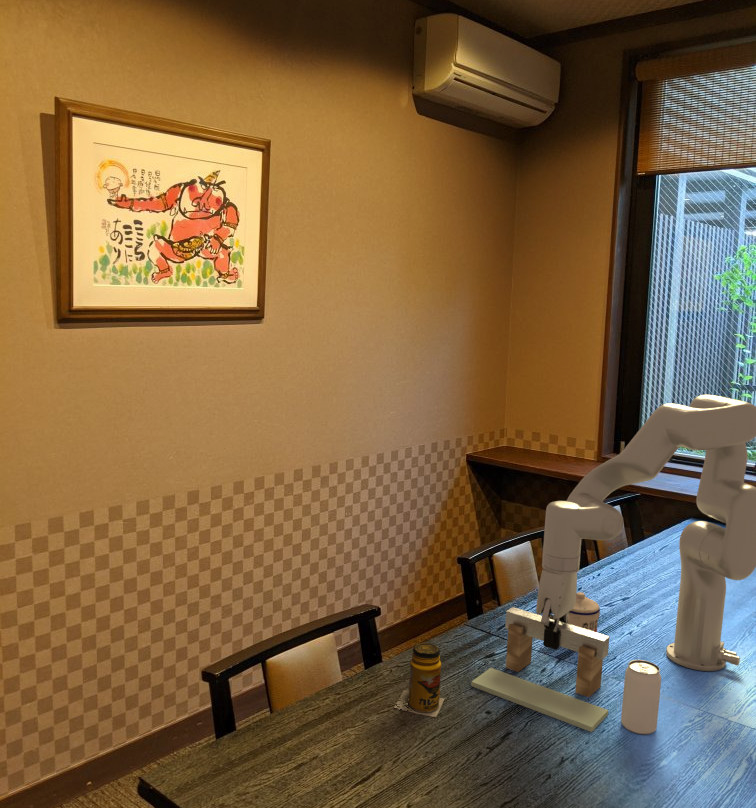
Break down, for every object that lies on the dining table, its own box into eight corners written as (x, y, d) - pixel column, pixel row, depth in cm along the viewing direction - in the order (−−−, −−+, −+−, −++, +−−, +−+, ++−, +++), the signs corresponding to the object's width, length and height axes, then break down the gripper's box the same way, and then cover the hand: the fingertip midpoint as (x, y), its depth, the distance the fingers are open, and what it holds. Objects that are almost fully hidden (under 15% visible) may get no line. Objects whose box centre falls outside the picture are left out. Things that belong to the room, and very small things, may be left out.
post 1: (530, 662, 175) (533, 620, 174) (518, 672, 170) (521, 628, 169) (518, 658, 177) (521, 616, 175) (505, 667, 172) (508, 624, 171)
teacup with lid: (580, 652, 181) (584, 604, 179) (549, 638, 188) (552, 591, 186) (612, 640, 188) (616, 593, 186) (581, 626, 195) (585, 581, 193)
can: (656, 721, 153) (662, 662, 151) (656, 738, 147) (662, 677, 145) (621, 714, 155) (626, 656, 153) (620, 731, 149) (625, 671, 147)
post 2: (600, 686, 165) (604, 641, 164) (589, 697, 161) (592, 651, 159) (587, 681, 167) (590, 637, 166) (575, 692, 163) (578, 647, 161)
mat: (607, 714, 154) (608, 710, 154) (591, 732, 148) (592, 727, 148) (490, 672, 170) (490, 667, 170) (471, 686, 164) (471, 681, 163)
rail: (607, 654, 162) (609, 636, 162) (602, 659, 160) (603, 641, 159) (511, 624, 175) (512, 607, 175) (505, 628, 173) (506, 611, 172)
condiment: (436, 717, 151) (439, 658, 149) (393, 709, 153) (396, 650, 152) (444, 699, 158) (447, 642, 156) (403, 691, 160) (406, 635, 159)
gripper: (560, 547, 174) (554, 627, 176) (526, 566, 161) (520, 652, 164) (593, 555, 169) (587, 637, 172) (560, 576, 156) (554, 663, 159)
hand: (554, 643), depth 168 cm, fingers closed on rail, 3 cm apart
